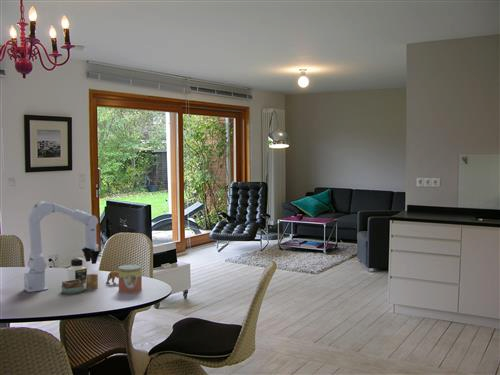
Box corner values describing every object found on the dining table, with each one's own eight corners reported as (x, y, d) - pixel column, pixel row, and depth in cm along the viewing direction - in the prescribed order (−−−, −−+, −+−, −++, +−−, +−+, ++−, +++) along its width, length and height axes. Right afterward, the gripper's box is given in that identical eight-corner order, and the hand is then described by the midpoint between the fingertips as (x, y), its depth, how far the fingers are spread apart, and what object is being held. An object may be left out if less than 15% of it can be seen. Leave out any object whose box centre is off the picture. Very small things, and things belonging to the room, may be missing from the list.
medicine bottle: (75, 283, 269) (75, 260, 269) (67, 281, 274) (67, 259, 273) (87, 280, 275) (86, 258, 274) (79, 279, 279) (78, 257, 279)
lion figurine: (129, 280, 278) (129, 263, 277) (133, 282, 274) (133, 265, 273) (103, 284, 268) (103, 267, 268) (107, 286, 264) (107, 268, 264)
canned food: (118, 294, 249) (118, 269, 248) (118, 288, 260) (118, 265, 259) (142, 292, 252) (142, 268, 251) (141, 287, 263) (141, 263, 262)
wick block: (88, 289, 257) (88, 275, 257) (86, 288, 259) (86, 274, 259) (97, 288, 261) (97, 274, 260) (95, 287, 262) (95, 273, 262)
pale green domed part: (66, 295, 246) (66, 290, 246) (58, 291, 254) (58, 286, 254) (86, 291, 253) (86, 286, 253) (78, 287, 260) (78, 283, 260)
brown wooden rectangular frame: (66, 288, 248) (66, 283, 248) (62, 286, 253) (62, 281, 253) (82, 286, 254) (82, 281, 254) (78, 284, 258) (78, 279, 258)
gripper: (103, 238, 270) (104, 263, 271) (92, 234, 281) (92, 259, 282) (90, 239, 266) (91, 265, 267) (79, 236, 277) (80, 261, 278)
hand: (91, 262), depth 274 cm, fingers open, 7 cm apart
